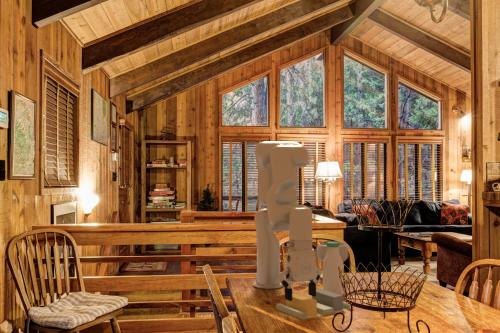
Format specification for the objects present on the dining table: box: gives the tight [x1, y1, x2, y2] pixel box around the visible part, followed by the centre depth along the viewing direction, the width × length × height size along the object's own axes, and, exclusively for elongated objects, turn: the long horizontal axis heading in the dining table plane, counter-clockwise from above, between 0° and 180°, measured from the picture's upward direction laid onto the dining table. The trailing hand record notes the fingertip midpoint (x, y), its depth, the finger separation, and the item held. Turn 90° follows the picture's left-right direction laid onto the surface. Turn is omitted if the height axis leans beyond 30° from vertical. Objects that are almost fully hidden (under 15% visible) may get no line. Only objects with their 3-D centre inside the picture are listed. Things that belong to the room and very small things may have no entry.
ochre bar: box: [285, 292, 317, 316], centre depth 152 cm, size 11×4×4 cm, turn 32°
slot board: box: [275, 300, 351, 321], centre depth 155 cm, size 14×21×3 cm, turn 122°
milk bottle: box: [322, 241, 345, 296], centre depth 177 cm, size 8×8×20 cm
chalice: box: [315, 241, 349, 280], centre depth 209 cm, size 14×14×15 cm
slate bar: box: [311, 288, 344, 311], centre depth 158 cm, size 11×4×4 cm, turn 32°
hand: (300, 297), depth 153 cm, fingers open, 9 cm apart
